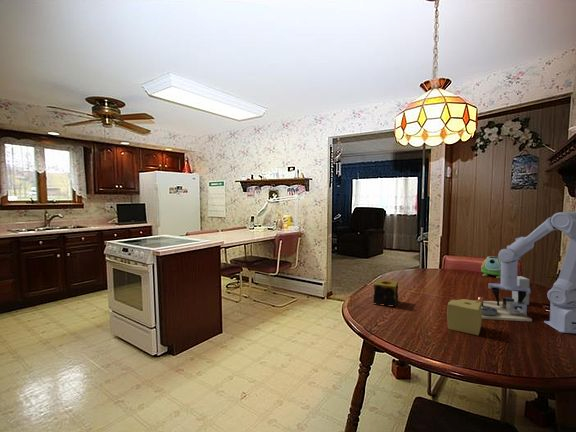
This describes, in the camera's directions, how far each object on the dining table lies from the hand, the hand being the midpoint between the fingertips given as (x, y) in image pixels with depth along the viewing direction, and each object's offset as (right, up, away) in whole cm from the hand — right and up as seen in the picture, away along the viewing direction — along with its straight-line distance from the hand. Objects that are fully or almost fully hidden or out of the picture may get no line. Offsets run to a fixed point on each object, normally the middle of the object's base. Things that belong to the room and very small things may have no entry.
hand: (508, 306), depth 126 cm
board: (-7, -2, +1) cm, 7 cm away
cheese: (-29, -4, -15) cm, 33 cm away
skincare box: (+13, -1, +10) cm, 16 cm away
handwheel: (-13, -1, -3) cm, 13 cm away
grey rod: (-1, -1, -4) cm, 4 cm away
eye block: (-1, -2, -6) cm, 6 cm away
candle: (-49, -3, +13) cm, 51 cm away
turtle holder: (+35, +1, +56) cm, 66 cm away
